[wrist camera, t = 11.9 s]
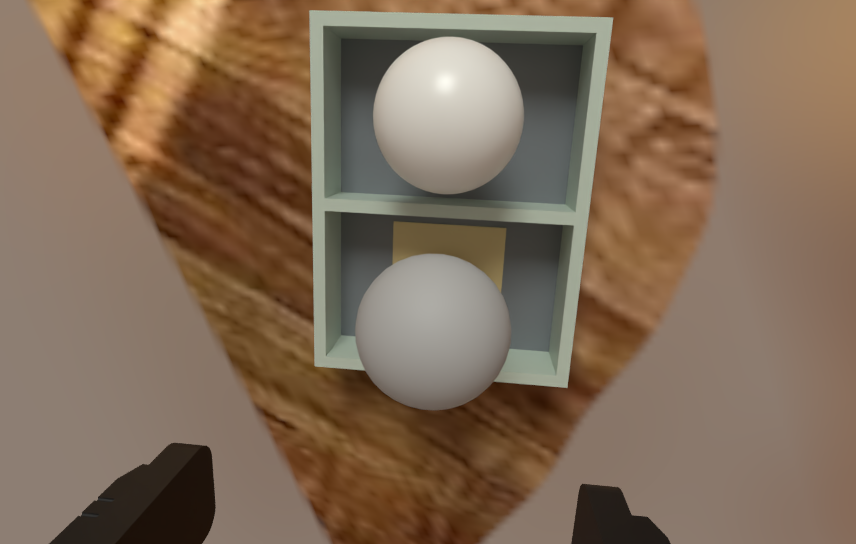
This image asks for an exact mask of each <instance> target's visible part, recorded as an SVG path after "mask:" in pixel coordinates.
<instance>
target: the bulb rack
mask: <svg viewBox="0 0 856 544" xmlns="http://www.w3.org/2000/svg"><path fill="white" fill-rule="evenodd" d="M612 23H613V18H609V17H566V16H524V15H482V14H440V13H398V12H356V11H314V10H310V75H311V144H312V214H313V283H314V352H315V366H318V367H330V368H342V369H353V370H365V369H364V367H363V364H362V362H361V360H360V357H359V354H358V349H357V345H356V337H355V325H356V319H357V313H358V308H359V306H360V303H361V301H362V298H363V296H364V294H365V293H366V291H367V290H368V288H369V287H370V285H371V284H372V282H373V281H374V280H375V279H376V278H377V277H378V276H379V275H380V274H381V273H382V272H383V271H384V270H385V269H386V268H388V267H390V266H391V265H393V264H395V263H396V262H398V261H400V260H403V259H406V258H408V257H411V256H416V255H422V254H445V255H449V256H454V257H458V258H460V259H462V260H465V261H467V262H469V263H471V264H473V265H474V266H476V267H477V268H478V269H480V270H481V271H483V272H484V273H485V274H486V275H487V276H488V277H489V278H490V279H491V280H492V281H493V282H494V283H495V284H496V286H497V287H498V289H499V291H500V292H501V294H502V295H503V297H504V300H505V303H506V305H507V308H508V311H509V317H510V324H511V344H510V348H509V352H508V355H507V359H506V361H505V363H504V365H503V367H502V369H501V371H500V373H499V375H498V376H497V378H496V379H495V380H494V381H493V382H505V383H517V384H528V385H540V386H552V387H564V388H567V386H568V378H569V370H570V362H571V353H572V345H573V337H574V329H575V321H576V313H577V305H578V297H579V289H580V281H581V273H582V265H583V257H584V249H585V241H586V233H587V224H588V216H589V208H590V200H591V192H592V184H593V176H594V168H595V160H596V152H597V144H598V136H599V128H600V120H601V112H602V104H603V95H604V87H605V79H606V71H607V63H608V55H609V47H610V39H611V31H612Z"/></svg>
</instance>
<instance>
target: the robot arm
mask: <svg viewBox="0 0 856 544" xmlns="http://www.w3.org/2000/svg"><path fill="white" fill-rule="evenodd" d="M214 514H215V493H214V479H213V465H212V454H211V450H210V448H209V447H207V446H202V445H192V444H182V443H171V444H170V445H168V446H167V447H166V448H165V449H164V450H163V451H162V452H161V453H160V454H159V455H158V456H157V457H156V458H155V459H154V460H153V461H152V462H151V463H150V464H149V465H145V464H142V465H141V466H139V467H137V468H135V469H134V470H132V471H130V472H128V473H127V474H125V475H123V476H121V477H120V478H118V479H117V480H115V482H113V483H112V484H111V485H110V486H109V487H108V488H107V489H106V490H105V491H104V492H103V493H102V494H101V495H100V496H99V497H98V500H97V501H94V502H93V503H91V504H90V505H89V506H88V507H87V508H86V509H85V510H84V511H83V512H82V515H81V516H78V517H77V518H76V519H75V520H74V521H73V522H71V523H70V524H69V525H68V526H67V527H66V528H65V529H64V530H63V531H62V532H61V533H60V534H59V535H58V536H57V537H56V538H55V539H54V540H53V541H52V542H51V543H50V544H202V543H203V541H204V540H205V538H206V537H207V535H208V533H209V531H210V529H211V526H212V523H213V519H214ZM572 544H670V541H669V540H668V538H667V537H666V536H665V534H664V533H663V532H662V531H661V530H660V529H658V527H657V526H656V525H655V524H654V523H653V522H652V521H651V520H650V519H649V518H648V517H643V516H632V515H631V513H630V510H629V508H628V505H627V503H626V500H625V498H624V495H623V493H622V491H621V489H620V488H618V487H610V486H599V485H589V484H582V485H581V486H580V490H579V495H578V501H577V509H576V515H575V523H574V529H573V536H572Z"/></svg>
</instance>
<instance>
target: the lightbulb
mask: <svg viewBox="0 0 856 544" xmlns="http://www.w3.org/2000/svg"><path fill="white" fill-rule="evenodd" d="M355 337H356V345H357V349H358V354H359V357H360V360H361V362H362V364H363V367H364V369H365V371H366V373H367V374H368V376H369V377H370V378H371V380H372V381H373V383H374V384H375V385H376V386H377V387H378V388H379V389H380V390H381V391H382V392H383V393H385V394H386V395H388V396H389V397H391V398H392V399H394V400H395V401H397V402H400V403H402V404H404V405H407V406H409V407H414V408H418V409H422V410H444V409H451V408H454V407H457V406H460V405H463V404H465V403H467V402H469V401H471V400H473V399H475V398H476V397H477V396H479V395H480V394H481V393H482V392H483V391H485V390H486V389H487V388H488V387H489V386H490V385H491V384H492V382H493V381H494V380H495V379H496V378H497V376H498V375H499V373H500V371H501V369H502V367H503V365H504V363H505V361H506V359H507V355H508V352H509V348H510V344H511V324H510V317H509V311H508V308H507V305H506V303H505V300H504V297H503V295H502V294H501V292H500V291H499V289H498V287H497V286H496V284H495V283H494V282H493V281H492V280H491V279H490V278H489V277H488V276H487V275H486V274H485V273H484V272H483V271H481V270H480V269H478V268H477V267H476V266H474V265H473V264H471V263H469V262H467V261H465V260H462V259H460V258H458V257H454V256H449V255H445V254H422V255H416V256H411V257H408V258H406V259H403V260H400V261H398V262H396V263H395V264H393V265H391V266H390V267H388V268H386V269H385V270H384V271H383V272H382V273H381V274H380V275H379V276H378V277H377V278H376V279H375V280H374V281H373V282H372V284H371V285H370V287H369V288H368V290H367V291H366V293H365V294H364V296H363V298H362V301H361V303H360V306H359V308H358V313H357V319H356V325H355Z"/></svg>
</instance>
